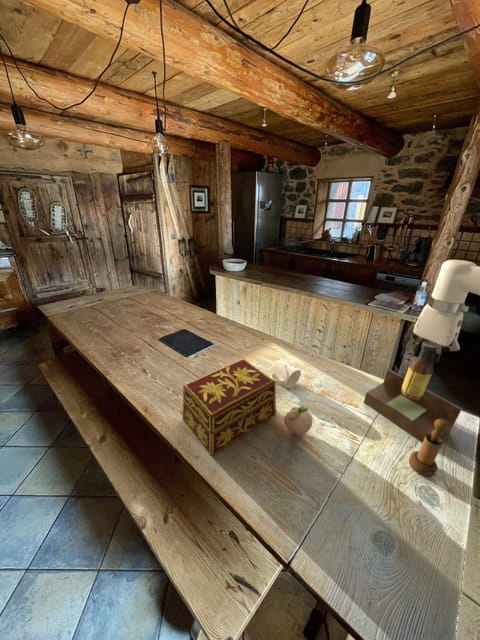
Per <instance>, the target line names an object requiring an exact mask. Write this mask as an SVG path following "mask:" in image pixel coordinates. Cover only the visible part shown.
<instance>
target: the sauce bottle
mask: <svg viewBox="0 0 480 640" xmlns="http://www.w3.org/2000/svg"><path fill="white" fill-rule="evenodd" d="M436 347H437V343H434V342H432V341H430V340H424V341H423V342H422V344H421V349H420V352H419V354H418V355H417V357H415V356H413V358H412V359H411V360H410V361H411V362H410V364H409V365H408V369H407V371H406V374H405V376H404V377H405V380H404V382H403V385H402V390H401V392H402V393H403V394H404V396H406V397H407V398H409V399H412V400H419V399H421V397H422V396H423V394H424V392H425V389H427V387H428V385H429V382H430V379H431V377H432V375H433V372H434V363H433V364H430V363H429V362H430V359H431V357H432V354H433V352H435V351H436Z"/></svg>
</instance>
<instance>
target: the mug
mask: <svg viewBox="0 0 480 640" xmlns="http://www.w3.org/2000/svg"><path fill="white" fill-rule="evenodd" d="M301 376H302V371H301V370H300V369H299V368H296V367H294V366H292V365H291V364H290V363H287V362H285V361H283V360H281V359H278V360H276V361H275V362H274V363H273V364H272V365H271V368H270V370H269V377H270V378H271V379H273V380H274V381H275V385H279V386H283V387H285V388H287V389H291V388H292V387H295V385H297V383H298V382H299V380H300V378H301Z"/></svg>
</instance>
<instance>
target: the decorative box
mask: <svg viewBox="0 0 480 640" xmlns="http://www.w3.org/2000/svg"><path fill="white" fill-rule="evenodd" d="M276 394H277V393H276V384H275V381H274V380H273V379H271V378H270V376H269V375H267V374H266V373H265V372H263V371H262V370H261V369H259V368H257V367H256V366H255V365H253V364H252V363H250V362H249V361H247V360H246V359H245V358H241V359H239V360H237V361H235V362H232V363H230V364H228V365H225V366H223V367H220V368H218V369H215V370H214V371H211V372H209V373H207V374H204V375H202V376H200V377H198V378H195V379H193V380H191V381H189V382H186V383H184V384H183V387H182V413H181V414H182V415H181V416H182V418H181V419H182V420H183V422H184V423H185V424H186V425H187V427H188V428H189V429H190V431H191V432H192V433H193V435H194V436H195V437H196V439H197V440H198V441H199V442H200V444H201V445H202V446H203V448H204V449H205V450H206V452H207V453H208V454H209V456H211V457H212V456H214V455H216V454H218V453H220V451H222V450H223V449H225V448H227V447H229V446H230V445H231V444H233V443H234V442H236V441H237V440H239V439H240V438H242V437H245V435H247V434H248V433H250V432H251V431H253V430H255V429H256V428H258V427H259V426H260V425H262V424H264V423H265V422H267V421H268V420H270V419H271V418H273V417H274V416H275V415H276V414H277V397H276Z"/></svg>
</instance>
